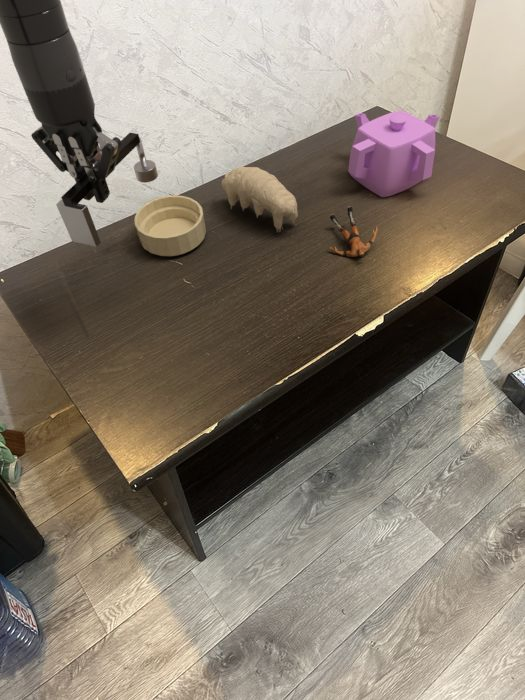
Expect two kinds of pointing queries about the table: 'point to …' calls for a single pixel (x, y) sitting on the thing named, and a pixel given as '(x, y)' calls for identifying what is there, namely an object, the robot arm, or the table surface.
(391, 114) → the teakettle
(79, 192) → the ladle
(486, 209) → the table surface
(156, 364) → the table surface
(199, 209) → the bowl
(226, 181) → the model
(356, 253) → the figurine
